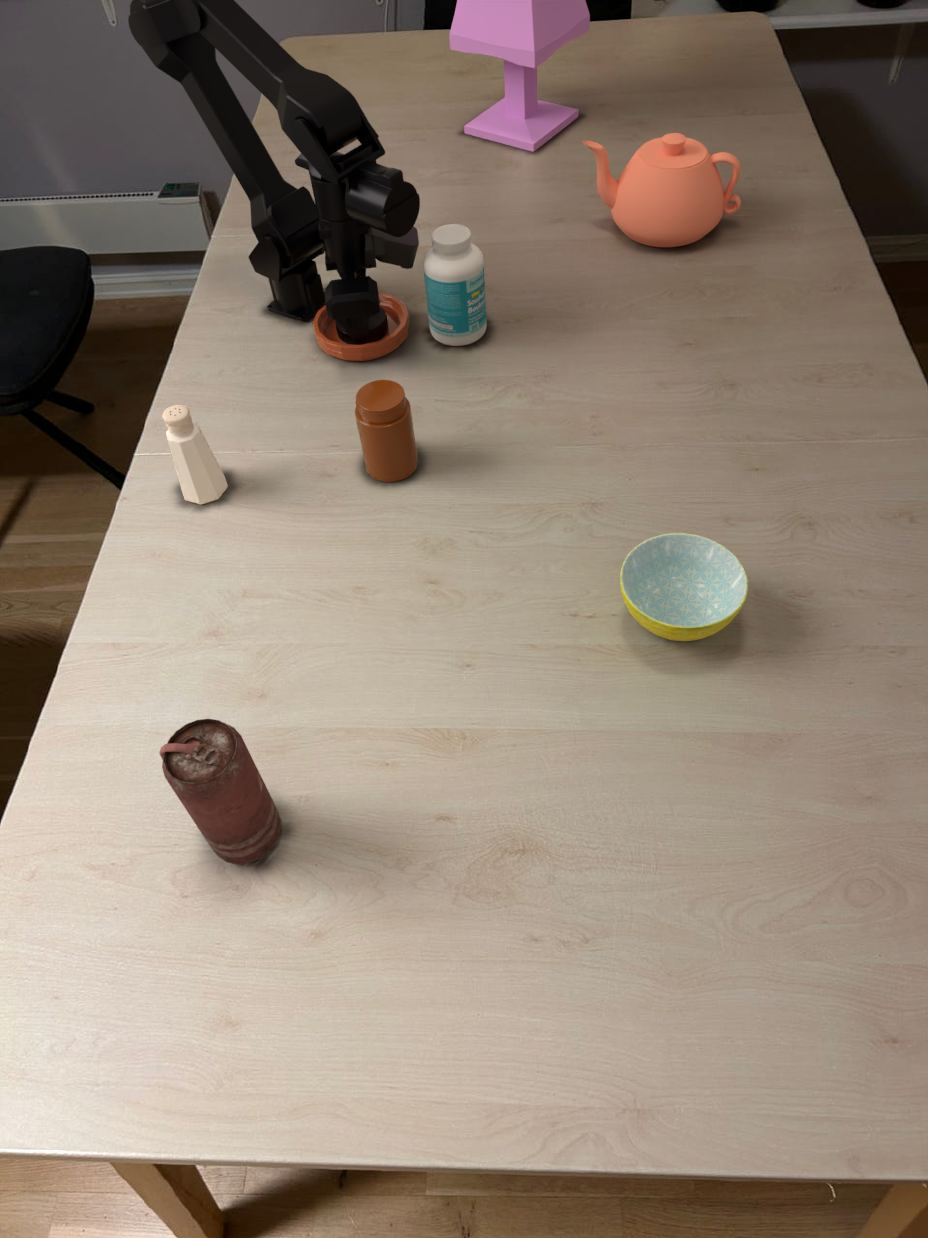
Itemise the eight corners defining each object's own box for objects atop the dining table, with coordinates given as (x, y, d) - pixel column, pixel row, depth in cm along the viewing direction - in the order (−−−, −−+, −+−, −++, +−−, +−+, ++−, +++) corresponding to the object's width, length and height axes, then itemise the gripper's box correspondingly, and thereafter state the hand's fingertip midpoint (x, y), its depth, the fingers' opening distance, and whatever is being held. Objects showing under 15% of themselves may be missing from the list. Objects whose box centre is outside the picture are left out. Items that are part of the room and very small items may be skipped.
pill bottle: (481, 350, 118) (475, 252, 108) (424, 347, 120) (413, 249, 109) (492, 316, 123) (487, 218, 112) (437, 312, 124) (427, 215, 113)
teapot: (578, 255, 130) (580, 166, 120) (582, 197, 140) (585, 111, 130) (740, 255, 127) (756, 165, 118) (733, 197, 137) (748, 108, 127)
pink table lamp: (509, 96, 162) (502, -159, 135) (586, 115, 156) (595, -149, 128) (456, 134, 155) (437, -128, 127) (535, 155, 149) (533, -116, 121)
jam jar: (355, 472, 106) (340, 403, 98) (384, 440, 109) (372, 371, 101) (399, 488, 104) (388, 419, 96) (428, 455, 107) (419, 386, 99)
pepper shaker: (210, 465, 108) (182, 388, 100) (238, 487, 106) (211, 410, 97) (171, 489, 106) (139, 413, 97) (198, 512, 104) (167, 436, 95)
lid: (389, 343, 120) (387, 329, 118) (337, 348, 120) (335, 334, 118) (387, 313, 124) (385, 299, 122) (337, 318, 124) (334, 304, 122)
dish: (298, 348, 121) (294, 331, 119) (352, 299, 127) (349, 282, 125) (376, 373, 117) (373, 357, 115) (427, 321, 123) (425, 304, 121)
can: (211, 804, 81) (159, 719, 70) (283, 796, 81) (243, 710, 70) (205, 870, 77) (149, 791, 66) (281, 862, 77) (238, 781, 66)
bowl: (708, 686, 85) (718, 646, 80) (595, 637, 89) (598, 596, 84) (755, 601, 91) (767, 559, 86) (646, 559, 95) (652, 516, 90)
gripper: (415, 243, 103) (428, 361, 115) (405, 162, 114) (419, 277, 127) (314, 255, 103) (339, 371, 115) (315, 173, 114) (337, 287, 127)
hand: (361, 324), depth 121 cm, fingers open, 9 cm apart
